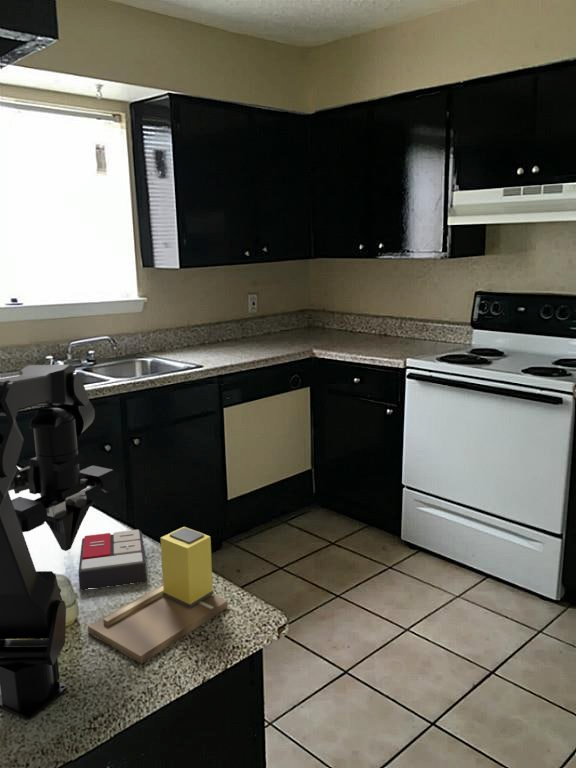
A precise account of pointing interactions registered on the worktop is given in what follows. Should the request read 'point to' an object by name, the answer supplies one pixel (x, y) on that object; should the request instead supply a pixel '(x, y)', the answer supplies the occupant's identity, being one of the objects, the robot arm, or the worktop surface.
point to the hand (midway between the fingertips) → (66, 549)
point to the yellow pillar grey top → (186, 566)
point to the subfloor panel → (153, 623)
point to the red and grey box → (112, 559)
